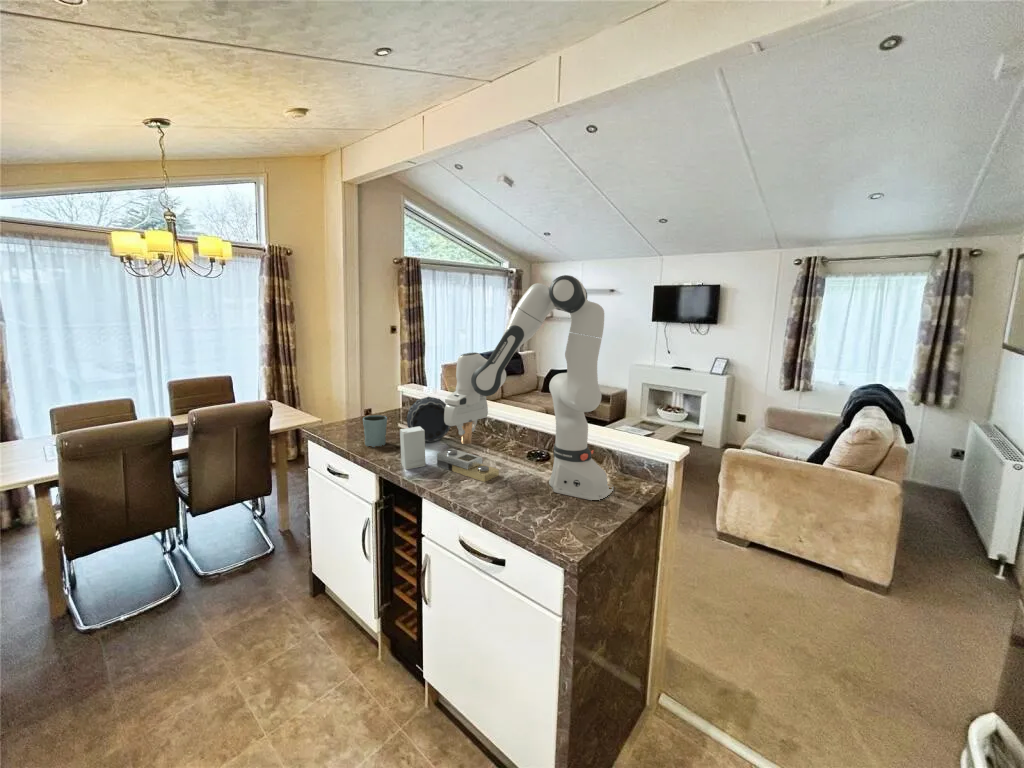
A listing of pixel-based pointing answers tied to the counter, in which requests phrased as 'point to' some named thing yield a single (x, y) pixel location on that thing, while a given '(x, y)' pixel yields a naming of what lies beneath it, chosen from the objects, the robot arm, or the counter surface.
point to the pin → (467, 433)
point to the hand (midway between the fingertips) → (466, 433)
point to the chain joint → (466, 465)
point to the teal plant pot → (375, 430)
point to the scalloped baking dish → (428, 418)
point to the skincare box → (412, 447)
